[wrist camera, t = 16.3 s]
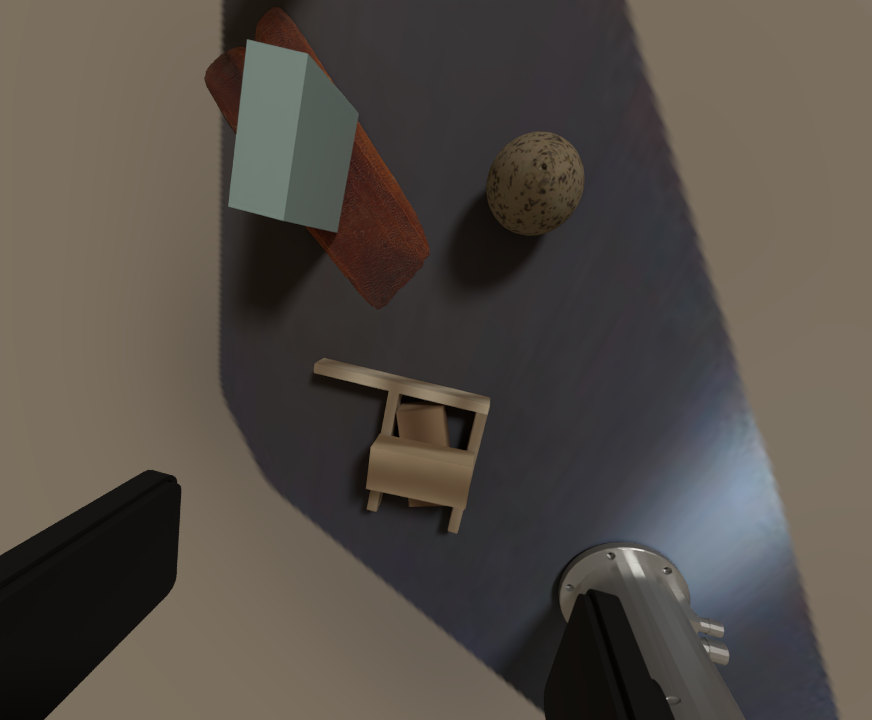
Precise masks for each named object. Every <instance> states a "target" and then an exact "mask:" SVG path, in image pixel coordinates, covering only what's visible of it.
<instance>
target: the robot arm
mask: <svg viewBox="0 0 872 720" xmlns="http://www.w3.org/2000/svg"><path fill="white" fill-rule="evenodd" d="M180 504H181V486H180V485H179V484H177V479H176V478H175V477H174V476H173V475H169V474H165V473H161V472H158V471H154V470H147V471H145V472H143V473H141V474H139V475H137V476H136V477H134V478H132V479H130V480H129V481H127V482H125V483H124V484H122V485H120V486H118V487H117V488H115V489H113V490H112V491H110V492H108V493H106V494H105V495H103V496H101V497H100V498H98V499H96V500H94V501H93V502H91V503H89V504H88V505H86V506H84V507H82V508H81V509H79V510H78V511H76V512H74V513H72V514H70V515H69V516H67V517H65V518H64V519H62V520H60V521H58V522H57V523H55V524H53V525H52V526H50V527H48V528H46V529H45V530H43V531H41V532H40V533H38V534H36V535H35V536H33V537H31V538H29V539H28V540H26V541H24V542H23V543H21V544H19V545H17V546H16V547H14V548H12V549H11V550H9V551H7V552H5V553H4V554H2V555H0V720H44V719H45V718H46V717H47V716H48V715H49V714H50V713H51V712H52V711H53V710H54V709H55V708H56V707H57V706H58V705H59V704H60V703H61V702H62V701H63V700H64V699H65V698H66V697H67V696H68V695H69V694H70V693H71V692H72V691H73V690H74V689H75V688H76V687H77V686H78V685H79V684H80V683H81V682H82V681H83V680H84V679H85V678H86V677H87V676H88V675H89V674H90V673H91V672H92V670H94V669H95V667H97V665H99V664H100V662H101V661H103V660H104V659H105V658H106V656H108V654H110V653H111V651H113V649H114V648H115V647H116V646H117V645H118V644H119V643H120V642H121V641H122V640H123V639H124V638H125V637H126V636H127V635H128V634H129V633H130V632H131V631H132V630H133V629H134V628H135V627H136V626H137V625H138V624H139V623H140V622H141V621H142V620H143V619H144V618H145V617H146V616H147V615H148V614H149V613H150V612H151V611H152V610H153V609H154V608H155V607H156V606H157V605H158V604H159V603H160V602H161V601H162V600H163V599H164V598H165V597H166V596H167V595H168V594H169V592H170V591H171V589H172V588H173V585H174V583H175V581H176V574H177V558H178V540H179V522H180ZM558 594H559V603H560V607H561V612H562V614H563V616H564V619H565V621H566V622H567V626H566V629H565V632H564V635H563V637H562V640H561V643H560V646H559V649H558V652H557V654H556V657H555V660H554V663H553V666H552V669H551V671H550V674H549V677H548V680H547V683H546V686H545V691H544V710H545V718H546V720H746V719H745V718H744V716H743V714H742V712H741V710H740V709H739V707H738V705H737V703H736V702H735V700H734V698H733V696H732V695H731V693H730V691H729V689H728V688H727V686H726V684H725V682H724V681H723V679H722V677H721V675H720V674H719V672H718V670H717V668H716V667H715V665H714V663H716V664H720V665H727V663H728V661H729V653H728V649H727V647H726V645H725V644H724V643H723V642H720V641H716V640H712V639H709V638H705V637H698V635H697V633H698V631H700V632H703V633H705V634H708V635H711V636H715V637H719V638H722V637H723V634H724V628H723V625H722V623H721V622H720V621H716V620H712V619H709V618H702V617H698V616H697V614H696V613H695V612H694V611H693V610H692V608H691V606H690V593H689V589H688V586H687V584H686V582H685V580H684V578H683V576H682V574H681V573H680V571H679V570H678V569H677V567H676V566H675V565H674V564H673V563H672V562H671V561H670V560H669V559H668V558H667V557H666V556H664V555H663V554H661V553H660V552H658V551H656V550H654V549H652V548H649V547H647V546H644V545H640V544H636V543H627V542H615V543H607V544H602V545H598V546H595V547H593V548H591V549H588V550H586V551H585V552H583V553H582V554H580V555H578V556H577V557H576V558H575V559H574V560H573V561H572V562H571V563H570V564H569V565H568V567H567V568H566V569H565V571H564V572H563V575H562V577H561V580H560V584H559V590H558Z"/></svg>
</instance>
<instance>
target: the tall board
mask: <svg viewBox="0 0 872 720" xmlns="http://www.w3.org/2000/svg"><path fill="white" fill-rule="evenodd" d="M358 116H359V113H358V112H357V111H356V110H355V108H354V107H353V106H352V105H351V104H350V103H349V101H348V100H347V99H346V98H345V97H344V95H343V94H342V93H341V92H340V91H339V90H338V88H337V87H336V86H335V85H334V84H333V83H332V81H331V80H330V79H329V78H328V77H327V75H326V74H325V73H324V72H323V71H322V70H321V68H320V67H319V66H318V65H317V64H316V62H315V61H314V60H313V59H312V58H311V57H310V55H309V54H307V53H303V52H299V51H294V50H290V49H286V48H282V47H277V46H273V45H269V44H265V43H260V42H256V41H252V40H248V39H247V46H246V54H245V63H244V72H243V81H242V90H241V99H240V107H239V116H238V125H237V134H236V143H235V152H234V161H233V169H232V178H231V187H230V196H229V205H228V206H229V207H233V208H237V209H240V210H244V211H248V212H252V213H256V214H259V215H263V216H267V217H271V218H274V219H278V220H282V221H286V222H291V223H295V224H300V225H304V226H309V227H314V228H318V229H323V230H327V231H332V232H336V233H337V231H338V226H339V220H340V215H341V209H342V204H343V198H344V193H345V187H346V182H347V176H348V171H349V165H350V160H351V154H352V149H353V143H354V138H355V132H356V127H357V121H358Z"/></svg>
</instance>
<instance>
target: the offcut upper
mask: <svg viewBox="0 0 872 720" xmlns="http://www.w3.org/2000/svg"><path fill="white" fill-rule="evenodd" d="M473 462H474V452H471V451H466V450H461V449H455V448H450V447H445V446H440V445H435V444H430V443H425V442H420V441H415V440H410V439H404V438H399V437H394V436H389V435H384V434H379V436H378V437H377V439H376V440H375V442H374V443H373V445H372V446H371V450H370V458H369V467H368V476H367V484H366V489H370V490H374V491H379V492H384V493H389V494H393V495H398V496H403V497H408V498H412V499H417V500H422V501H427V502H431V503H436V504H441V505H446V506H450V507H455V508H460V509H464V510H465V508H466V503H467V497H468V492H469V486H470V481H471V476H472V470H473Z"/></svg>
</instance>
